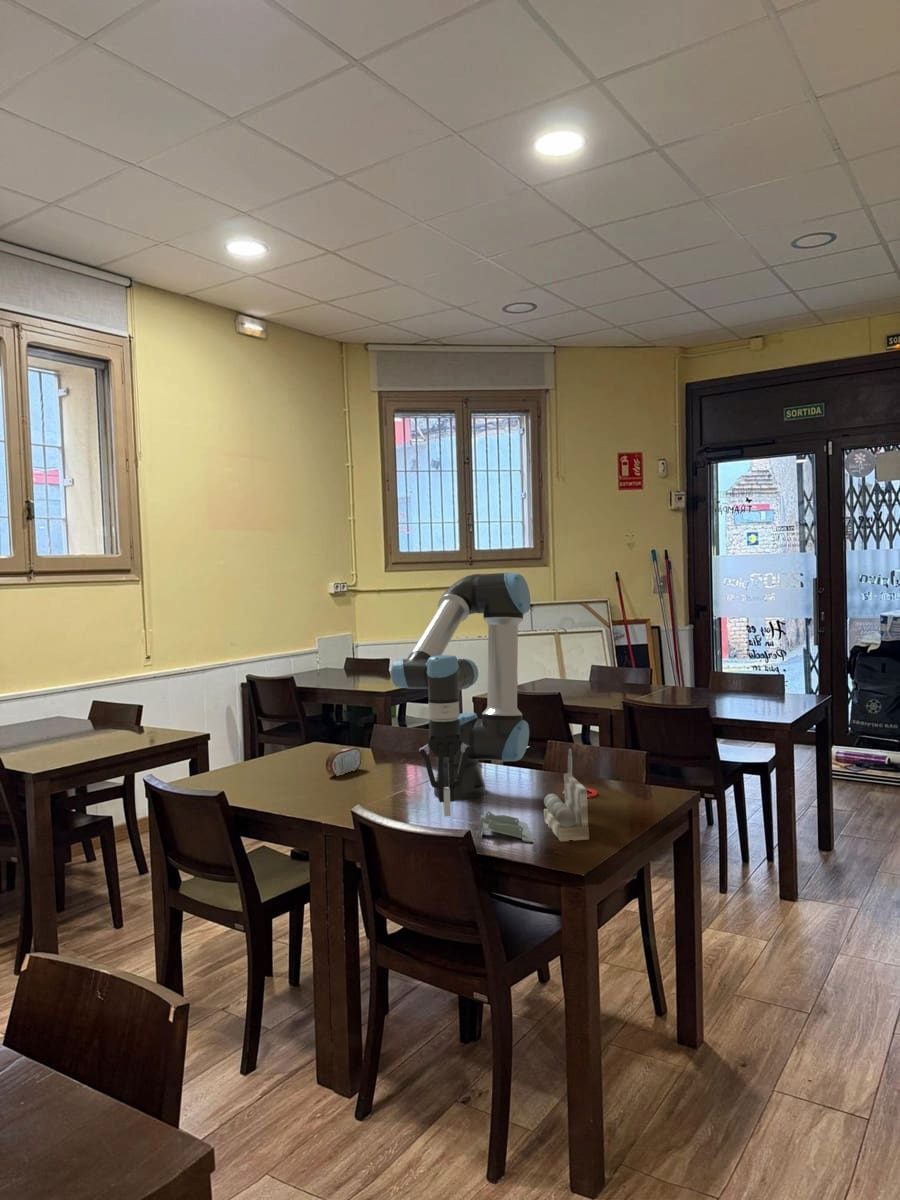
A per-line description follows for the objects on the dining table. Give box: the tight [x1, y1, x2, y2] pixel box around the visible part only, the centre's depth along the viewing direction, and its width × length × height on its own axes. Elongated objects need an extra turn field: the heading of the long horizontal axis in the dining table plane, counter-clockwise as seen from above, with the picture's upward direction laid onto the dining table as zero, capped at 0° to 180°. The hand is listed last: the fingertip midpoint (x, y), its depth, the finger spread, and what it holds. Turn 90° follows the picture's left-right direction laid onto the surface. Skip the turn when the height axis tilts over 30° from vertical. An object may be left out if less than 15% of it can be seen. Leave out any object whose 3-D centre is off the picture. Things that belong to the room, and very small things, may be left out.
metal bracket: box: [475, 811, 536, 843], centre depth 203 cm, size 14×6×15 cm
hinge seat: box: [543, 772, 590, 842], centre depth 205 cm, size 17×7×12 cm, turn 7°
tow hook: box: [561, 748, 598, 797], centre depth 236 cm, size 8×13×9 cm
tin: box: [325, 746, 362, 777], centre depth 271 cm, size 15×3×8 cm, turn 144°
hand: (446, 814), depth 201 cm, fingers closed
